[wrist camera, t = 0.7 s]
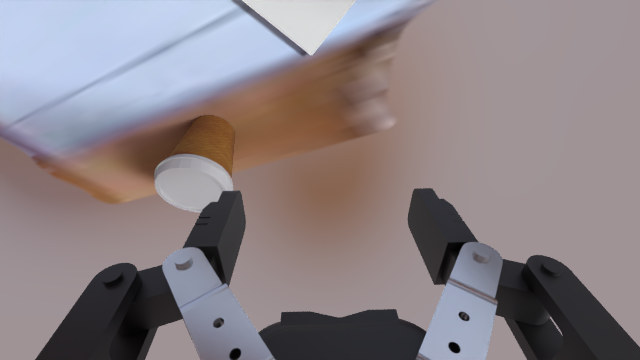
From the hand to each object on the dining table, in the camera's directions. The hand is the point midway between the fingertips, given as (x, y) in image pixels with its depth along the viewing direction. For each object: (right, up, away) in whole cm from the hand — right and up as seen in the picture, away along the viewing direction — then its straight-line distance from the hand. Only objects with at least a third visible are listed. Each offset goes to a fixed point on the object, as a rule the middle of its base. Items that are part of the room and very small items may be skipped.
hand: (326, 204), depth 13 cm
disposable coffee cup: (-17, +9, +31) cm, 36 cm away
